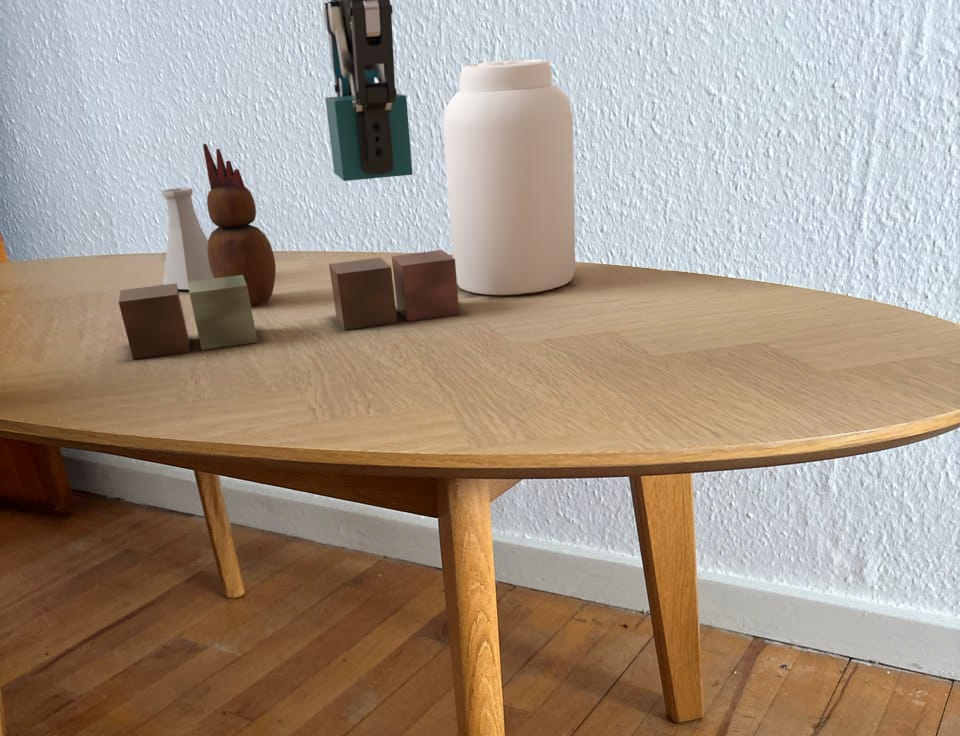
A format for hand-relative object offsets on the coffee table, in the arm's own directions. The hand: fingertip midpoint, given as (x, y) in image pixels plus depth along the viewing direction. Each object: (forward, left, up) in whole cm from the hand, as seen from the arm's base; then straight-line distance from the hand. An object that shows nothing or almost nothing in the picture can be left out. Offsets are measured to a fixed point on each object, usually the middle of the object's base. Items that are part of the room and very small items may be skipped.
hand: (371, 167), depth 72 cm
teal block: (0, 0, 0) cm, 0 cm away
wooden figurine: (-9, +31, -15) cm, 35 cm away
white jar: (+18, +24, -15) cm, 33 cm away
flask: (-14, +44, -15) cm, 48 cm away
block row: (-6, +17, -15) cm, 23 cm away
